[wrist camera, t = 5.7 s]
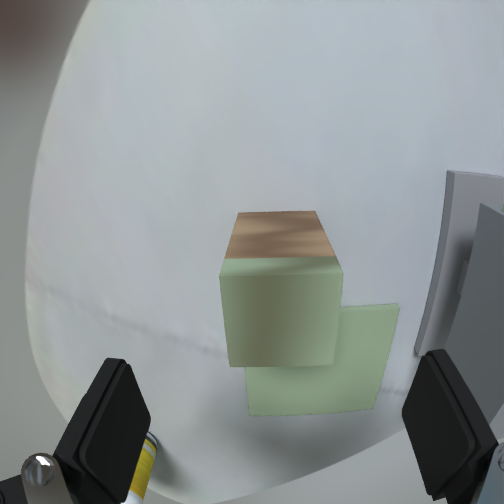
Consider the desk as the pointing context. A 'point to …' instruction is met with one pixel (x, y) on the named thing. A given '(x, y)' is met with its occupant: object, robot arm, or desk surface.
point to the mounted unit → (470, 290)
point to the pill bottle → (142, 471)
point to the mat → (330, 370)
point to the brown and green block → (280, 291)
